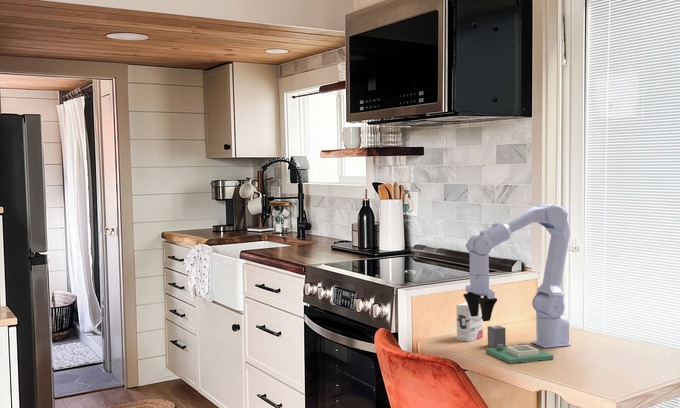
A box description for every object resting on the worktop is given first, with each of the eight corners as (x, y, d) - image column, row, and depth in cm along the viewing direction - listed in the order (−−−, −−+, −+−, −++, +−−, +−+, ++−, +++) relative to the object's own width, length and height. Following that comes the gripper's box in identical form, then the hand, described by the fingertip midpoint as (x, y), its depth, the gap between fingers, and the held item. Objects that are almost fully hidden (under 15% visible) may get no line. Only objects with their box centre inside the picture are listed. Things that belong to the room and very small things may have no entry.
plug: (499, 344, 218) (498, 324, 217) (505, 347, 214) (505, 326, 213) (487, 345, 216) (487, 325, 216) (494, 348, 213) (493, 328, 212)
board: (526, 348, 211) (526, 339, 211) (553, 359, 198) (553, 349, 198) (486, 352, 207) (485, 343, 207) (510, 364, 194) (510, 354, 194)
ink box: (470, 335, 230) (470, 300, 230) (483, 337, 227) (483, 302, 227) (456, 340, 224) (455, 304, 224) (469, 342, 221) (469, 305, 220)
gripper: (456, 272, 216) (457, 315, 216) (479, 278, 202) (480, 324, 202) (476, 270, 218) (477, 313, 218) (500, 276, 204) (501, 322, 204)
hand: (480, 318), depth 210 cm, fingers open, 7 cm apart
